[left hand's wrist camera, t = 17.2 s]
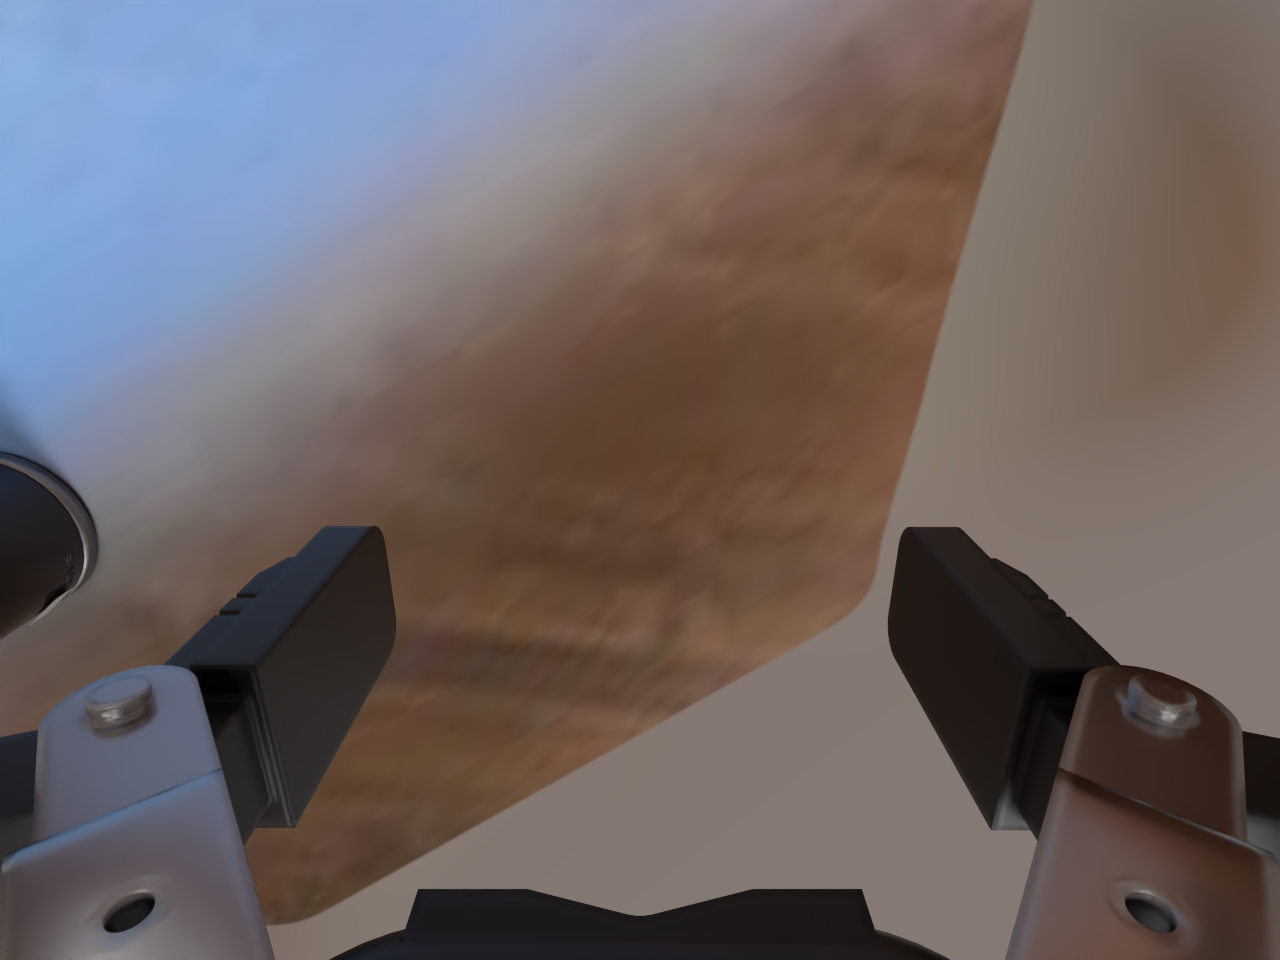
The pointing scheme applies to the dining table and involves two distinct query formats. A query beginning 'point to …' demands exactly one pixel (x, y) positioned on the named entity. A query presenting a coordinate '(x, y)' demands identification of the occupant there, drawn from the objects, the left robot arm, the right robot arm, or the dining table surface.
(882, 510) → the dining table surface
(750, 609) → the dining table surface
